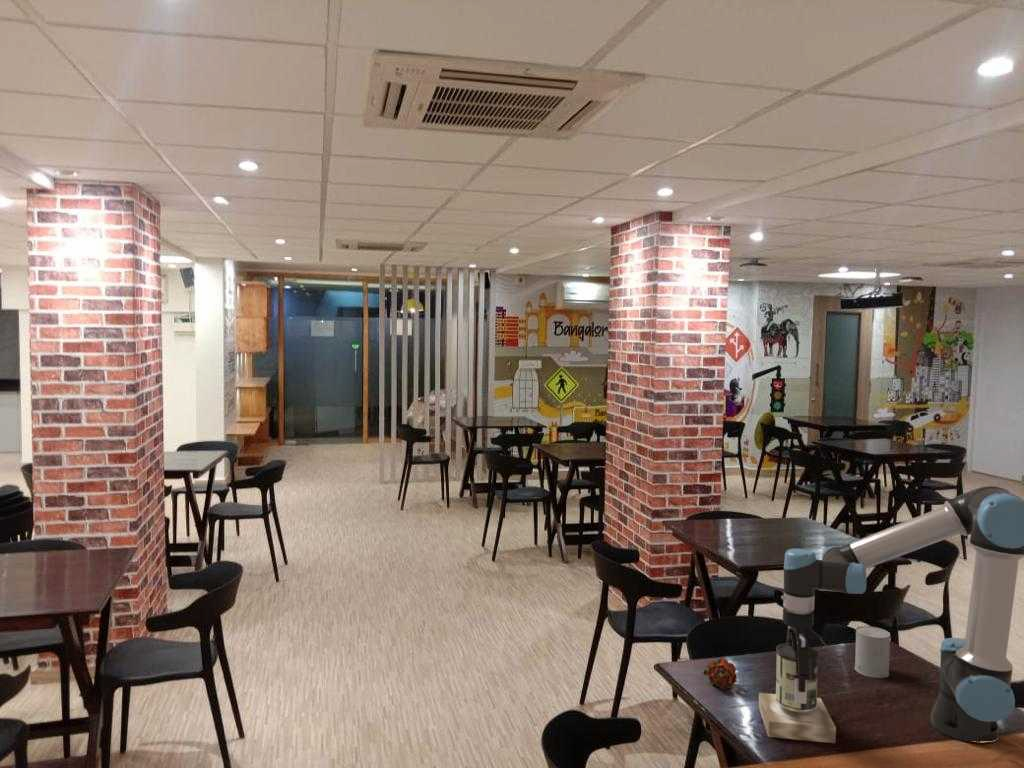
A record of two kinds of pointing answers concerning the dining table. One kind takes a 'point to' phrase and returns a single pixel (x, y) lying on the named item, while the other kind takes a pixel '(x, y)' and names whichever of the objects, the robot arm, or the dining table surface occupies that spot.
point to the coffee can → (787, 680)
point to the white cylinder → (872, 651)
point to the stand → (796, 721)
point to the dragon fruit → (721, 673)
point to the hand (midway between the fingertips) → (796, 693)
